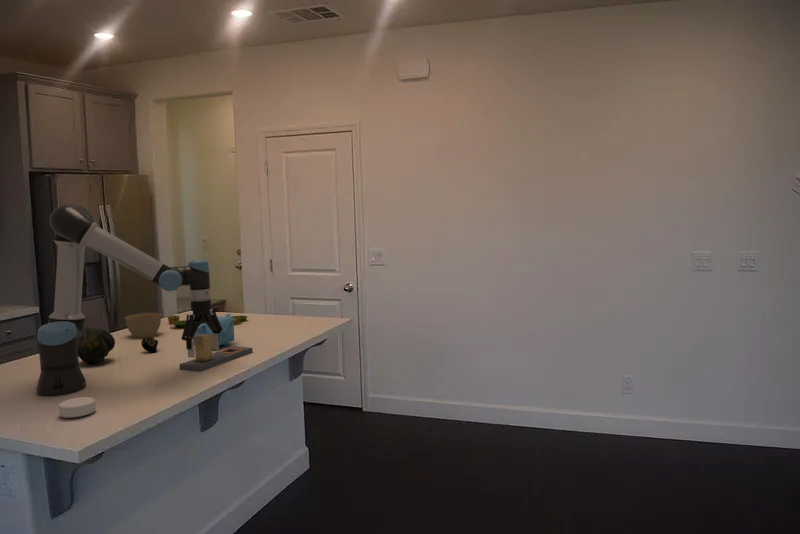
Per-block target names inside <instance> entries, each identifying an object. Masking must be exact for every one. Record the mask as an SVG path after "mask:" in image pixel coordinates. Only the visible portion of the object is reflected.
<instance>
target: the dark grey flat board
mask: <svg viewBox="0 0 800 534" xmlns="http://www.w3.org/2000/svg"><path fill="white" fill-rule="evenodd" d="M253 349H254V348H253V347H248V346H247V347H246V346H235V345H233V346H230V347H227V348H224V349H221V350H217V351H215V352H212V360H211V361H208V362H205V363H204V362H196V358H193V359H191V360H188V361H185V362H182V363H179V370H182V371H183V370H185V371H192V372H193V371H194V372H202V371H205V370H208V369H210V368H213V367H216V366H219V365H221V364H224V363H227V362H230V361H232V360H233V361H234V360H235V359H238V358H241V357H243V356H247V355H249V354H251V353H253Z"/></svg>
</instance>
